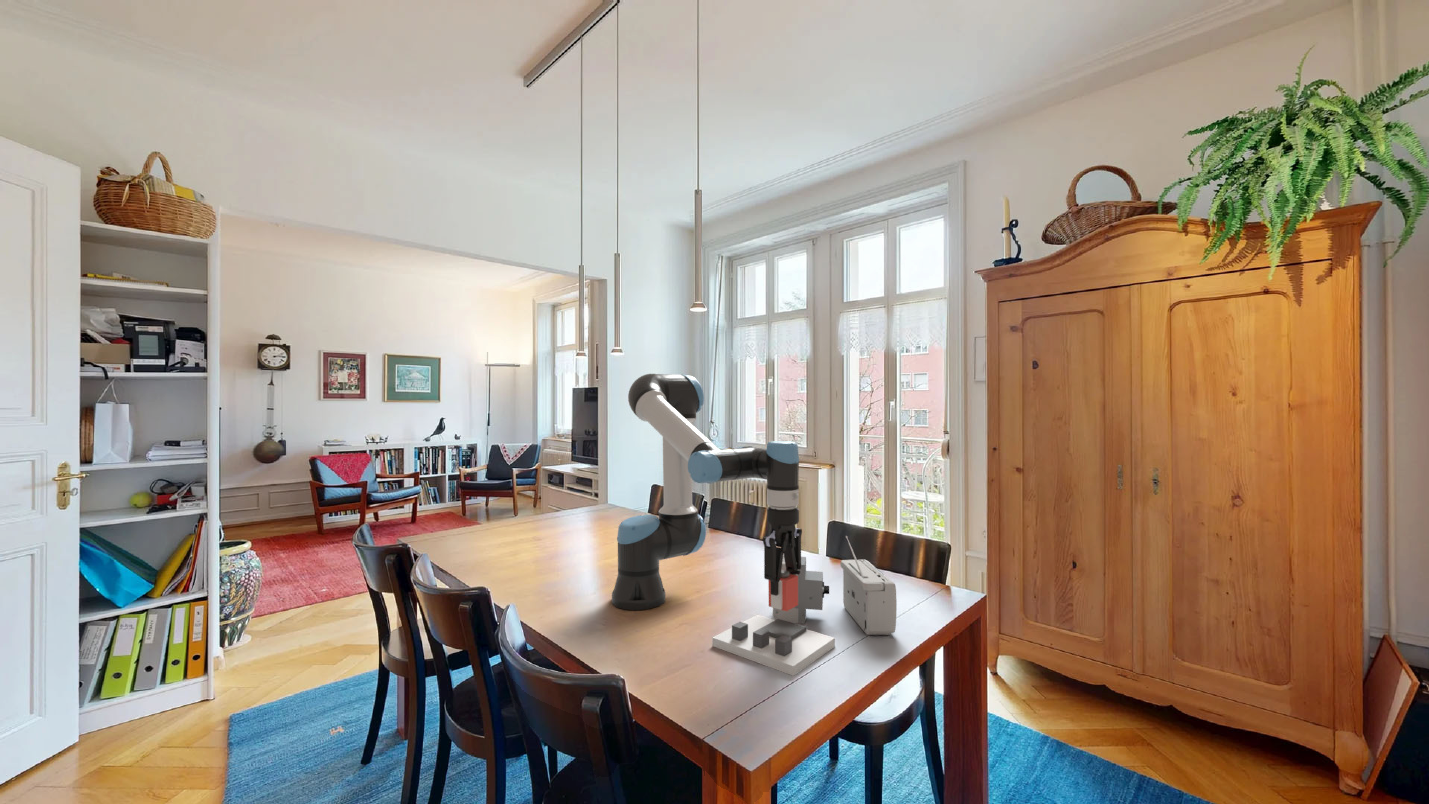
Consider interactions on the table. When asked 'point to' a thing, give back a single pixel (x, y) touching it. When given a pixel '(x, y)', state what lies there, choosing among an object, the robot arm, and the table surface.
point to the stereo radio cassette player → (869, 596)
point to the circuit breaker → (804, 595)
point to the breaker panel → (774, 643)
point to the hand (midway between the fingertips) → (783, 604)
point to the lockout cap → (787, 590)
